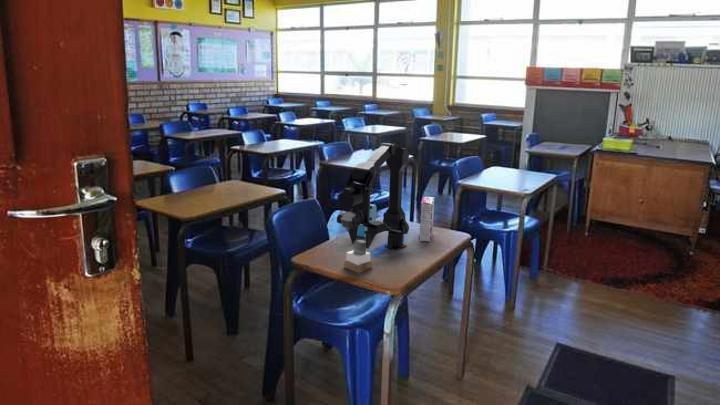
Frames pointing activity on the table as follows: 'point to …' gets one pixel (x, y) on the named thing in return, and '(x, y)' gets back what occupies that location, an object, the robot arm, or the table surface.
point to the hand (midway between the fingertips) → (360, 246)
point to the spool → (359, 247)
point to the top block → (357, 258)
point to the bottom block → (357, 266)
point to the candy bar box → (426, 219)
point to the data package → (372, 214)
